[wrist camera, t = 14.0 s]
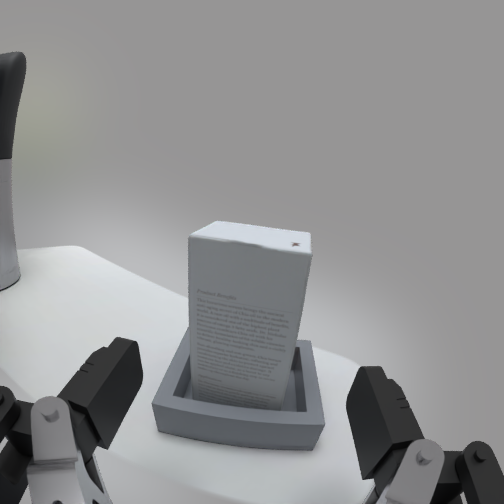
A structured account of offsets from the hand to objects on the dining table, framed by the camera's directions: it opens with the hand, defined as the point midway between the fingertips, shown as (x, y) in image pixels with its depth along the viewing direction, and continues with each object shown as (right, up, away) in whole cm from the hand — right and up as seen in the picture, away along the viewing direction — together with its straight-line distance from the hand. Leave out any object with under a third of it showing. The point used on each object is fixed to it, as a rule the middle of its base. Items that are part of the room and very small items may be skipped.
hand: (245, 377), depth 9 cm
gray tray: (-1, -6, +9) cm, 11 cm away
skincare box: (-1, -6, +9) cm, 11 cm away
